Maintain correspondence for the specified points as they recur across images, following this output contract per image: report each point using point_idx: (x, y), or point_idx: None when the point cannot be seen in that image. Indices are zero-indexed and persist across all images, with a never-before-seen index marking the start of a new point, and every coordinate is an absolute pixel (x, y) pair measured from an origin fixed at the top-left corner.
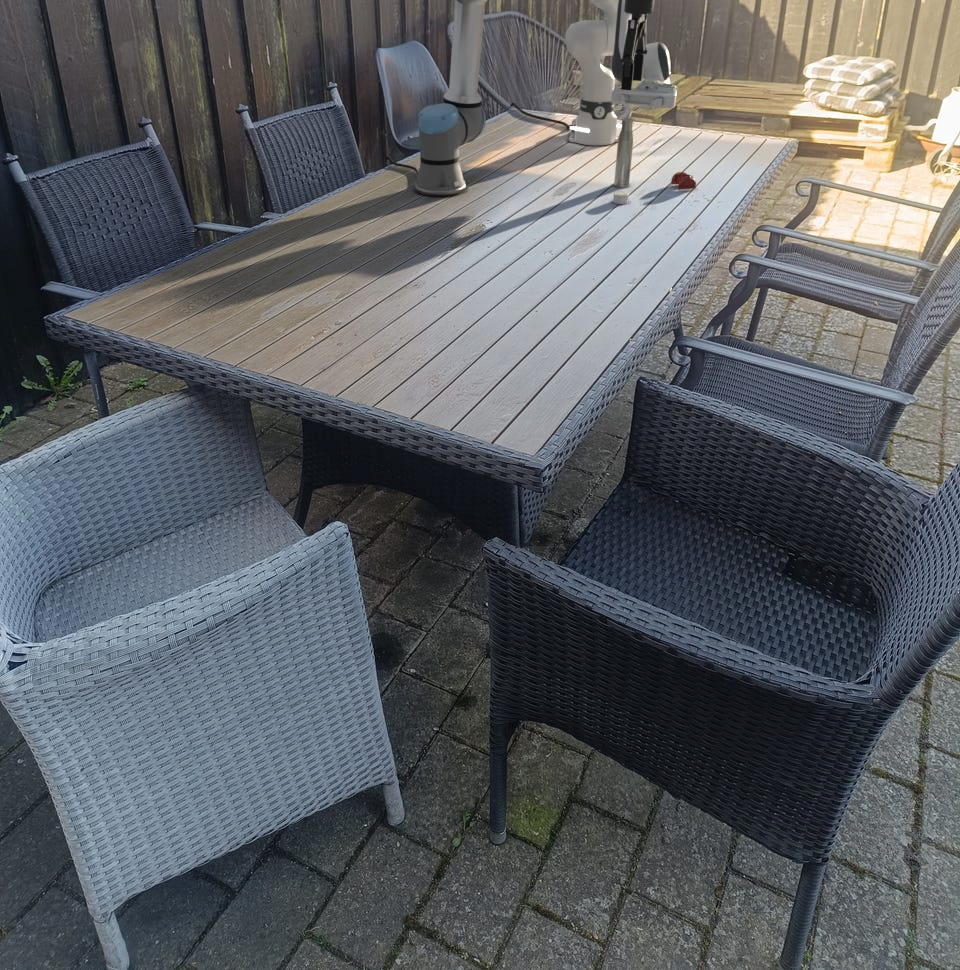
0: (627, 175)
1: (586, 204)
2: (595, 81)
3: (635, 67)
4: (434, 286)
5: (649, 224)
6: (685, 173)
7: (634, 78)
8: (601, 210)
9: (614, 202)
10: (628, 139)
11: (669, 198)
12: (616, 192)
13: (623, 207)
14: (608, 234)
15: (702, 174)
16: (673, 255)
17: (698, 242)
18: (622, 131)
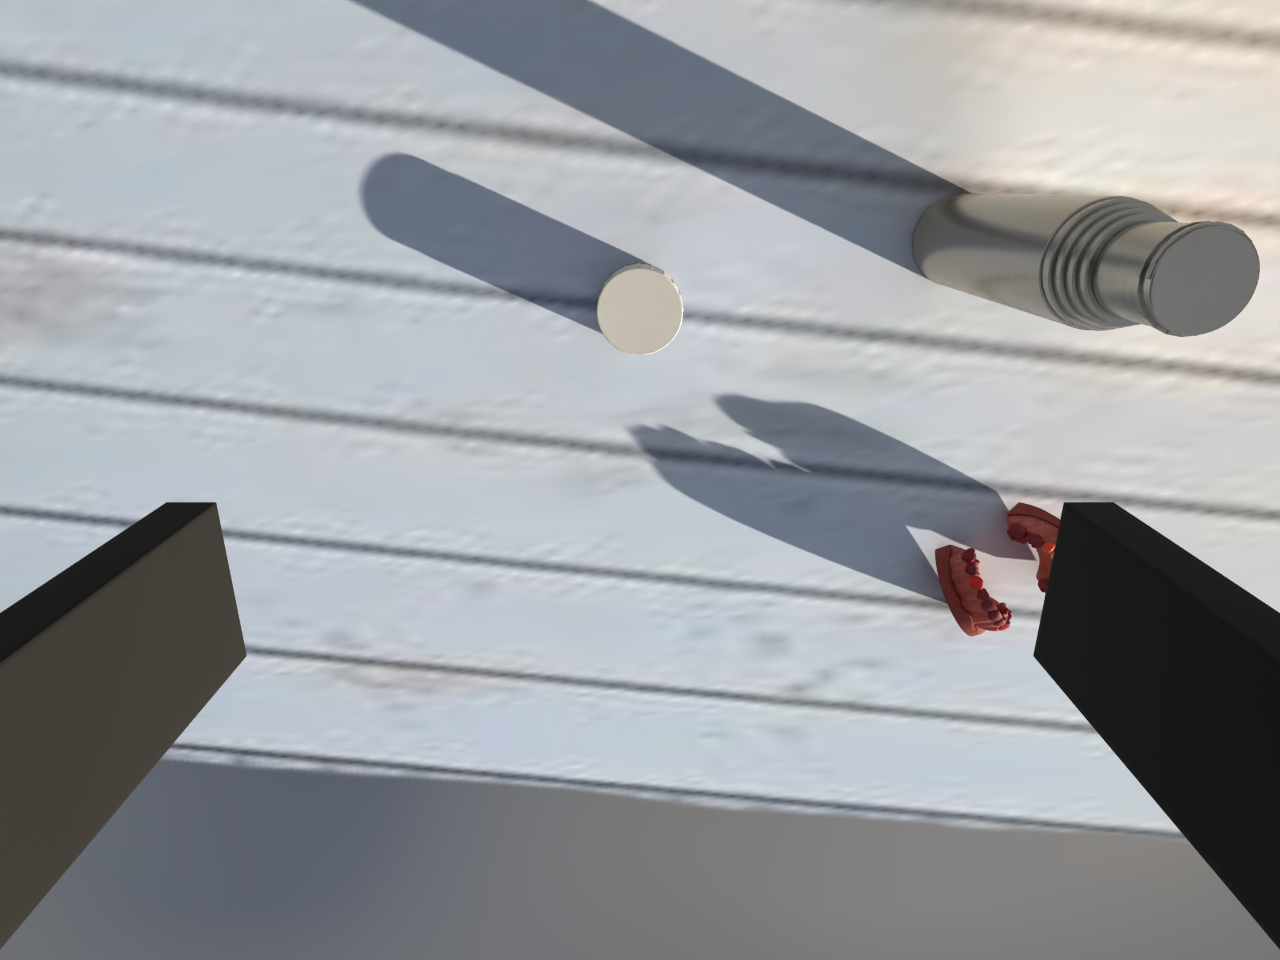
0: (951, 284)
1: (525, 122)
2: None
3: (1198, 670)
4: None
5: (349, 509)
6: None
7: (1073, 564)
8: (455, 237)
9: (610, 276)
10: (1048, 299)
11: (782, 528)
12: (643, 281)
13: (552, 340)
14: (112, 360)
15: None
16: None
17: (227, 720)
18: (1110, 239)
